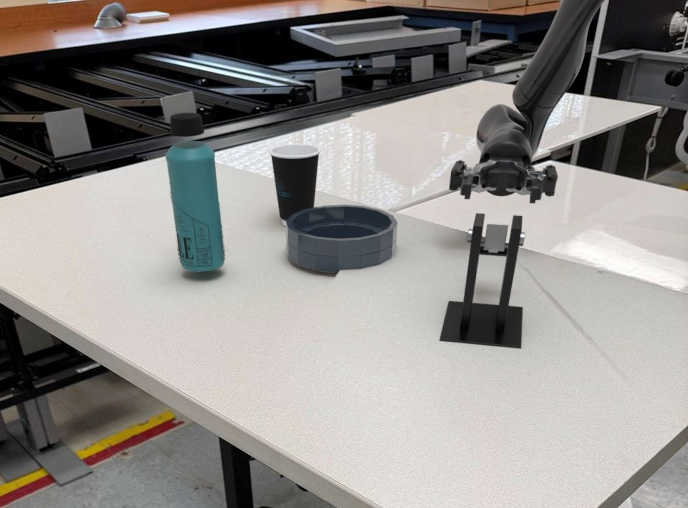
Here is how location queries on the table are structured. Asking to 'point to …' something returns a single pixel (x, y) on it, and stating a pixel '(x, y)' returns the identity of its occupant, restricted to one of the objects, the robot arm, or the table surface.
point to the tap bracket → (486, 319)
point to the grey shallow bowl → (340, 237)
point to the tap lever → (495, 240)
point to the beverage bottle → (195, 197)
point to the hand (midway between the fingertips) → (500, 193)
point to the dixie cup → (294, 177)
